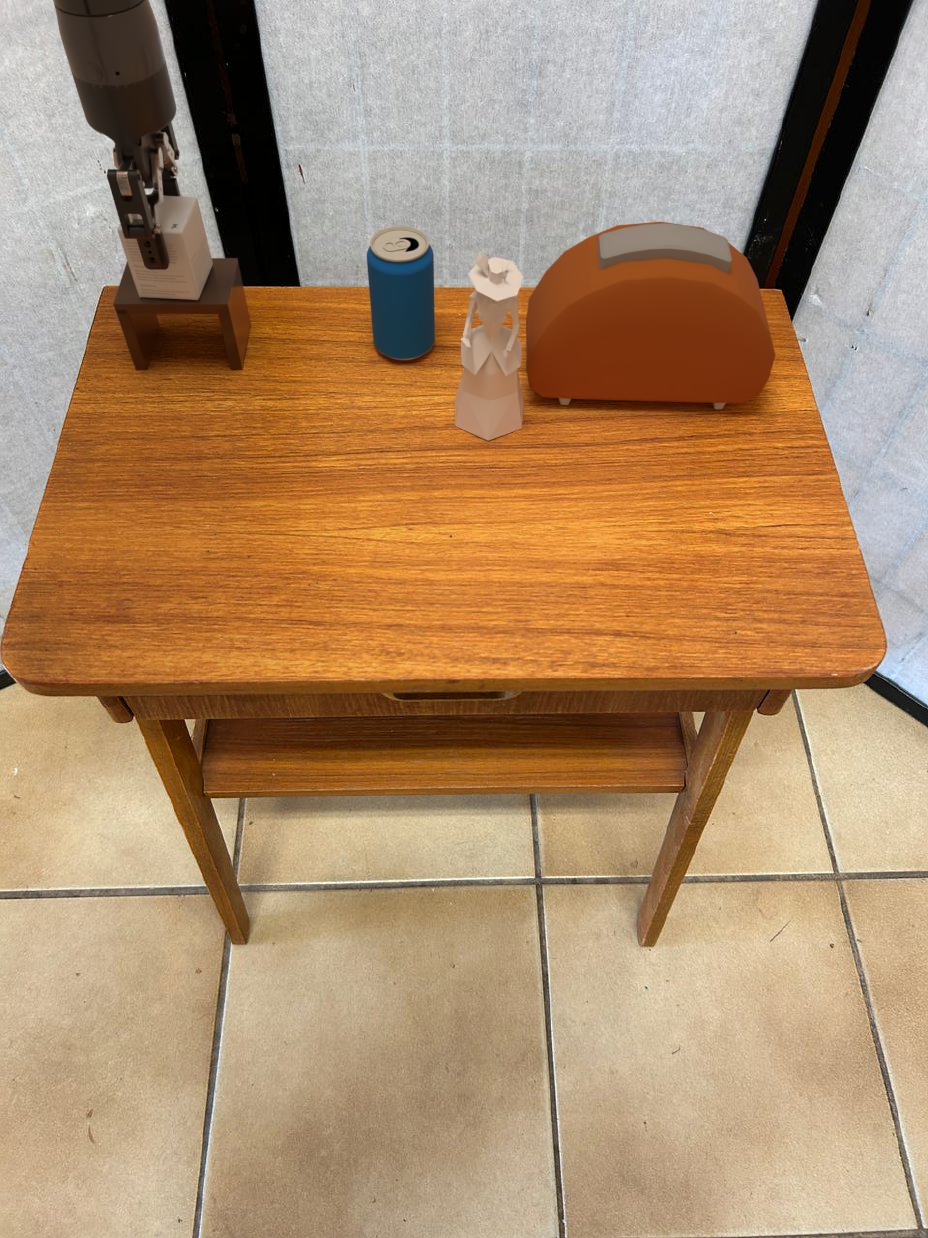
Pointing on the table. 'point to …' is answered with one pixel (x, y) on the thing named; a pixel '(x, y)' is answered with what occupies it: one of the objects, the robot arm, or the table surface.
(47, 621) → the table surface
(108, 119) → the robot arm
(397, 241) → the beverage can
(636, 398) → the orange toaster
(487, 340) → the figurine
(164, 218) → the product box
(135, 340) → the shelf
